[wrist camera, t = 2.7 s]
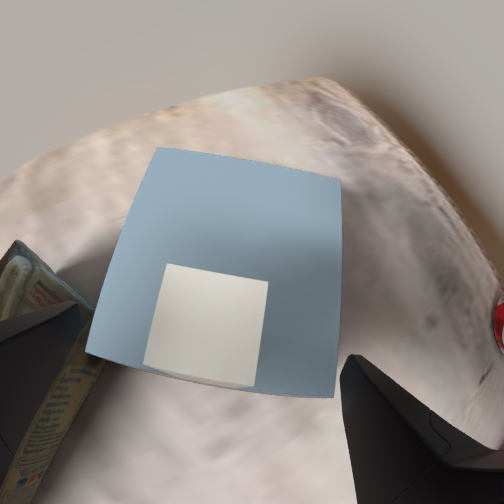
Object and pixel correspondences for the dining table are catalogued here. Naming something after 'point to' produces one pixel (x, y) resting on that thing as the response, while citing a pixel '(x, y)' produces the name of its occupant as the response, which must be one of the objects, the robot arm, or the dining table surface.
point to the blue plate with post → (227, 276)
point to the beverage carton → (66, 384)
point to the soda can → (499, 323)
